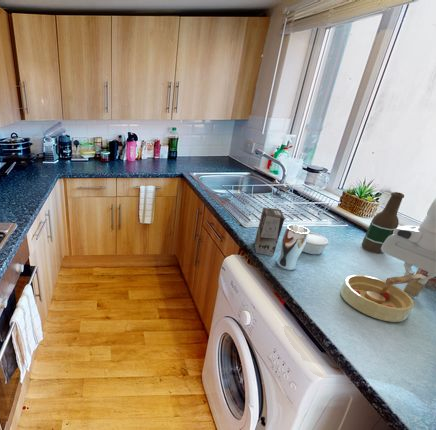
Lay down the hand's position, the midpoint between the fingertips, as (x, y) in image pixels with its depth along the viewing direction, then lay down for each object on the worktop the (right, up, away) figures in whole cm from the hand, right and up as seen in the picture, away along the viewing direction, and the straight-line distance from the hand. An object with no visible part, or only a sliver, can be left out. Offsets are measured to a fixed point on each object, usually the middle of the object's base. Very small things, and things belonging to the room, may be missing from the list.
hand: (414, 279), depth 87 cm
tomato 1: (-18, -4, +1) cm, 18 cm away
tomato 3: (-13, -7, -6) cm, 16 cm away
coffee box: (-32, +6, +27) cm, 42 cm away
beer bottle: (+13, +6, +29) cm, 32 cm away
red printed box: (+13, -4, +8) cm, 15 cm away
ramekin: (-13, +6, +28) cm, 32 cm away
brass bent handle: (-7, -5, +1) cm, 9 cm away
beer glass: (-29, +1, +17) cm, 34 cm away
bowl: (-14, -7, -1) cm, 16 cm away
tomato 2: (-9, -5, 0) cm, 11 cm away
